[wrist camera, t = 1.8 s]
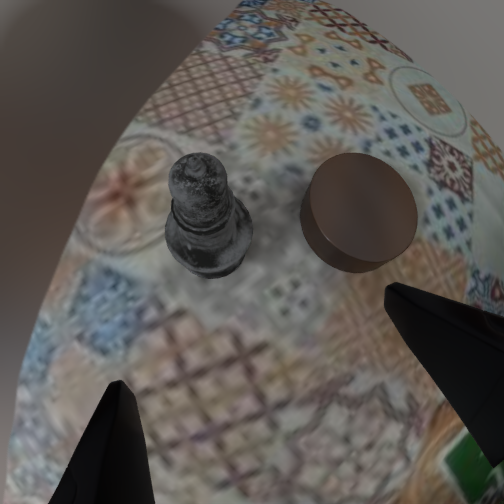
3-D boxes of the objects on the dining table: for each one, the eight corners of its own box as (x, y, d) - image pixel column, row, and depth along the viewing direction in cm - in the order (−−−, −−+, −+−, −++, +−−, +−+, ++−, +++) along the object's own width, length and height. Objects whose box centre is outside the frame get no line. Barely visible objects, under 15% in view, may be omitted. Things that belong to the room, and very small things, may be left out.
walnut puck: (403, 195, 26) (421, 178, 23) (388, 287, 24) (409, 278, 20) (314, 159, 27) (324, 136, 23) (286, 251, 24) (294, 236, 21)
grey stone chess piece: (230, 198, 25) (228, 92, 14) (263, 262, 24) (289, 187, 12) (163, 228, 24) (113, 137, 13) (192, 295, 23) (150, 248, 11)
